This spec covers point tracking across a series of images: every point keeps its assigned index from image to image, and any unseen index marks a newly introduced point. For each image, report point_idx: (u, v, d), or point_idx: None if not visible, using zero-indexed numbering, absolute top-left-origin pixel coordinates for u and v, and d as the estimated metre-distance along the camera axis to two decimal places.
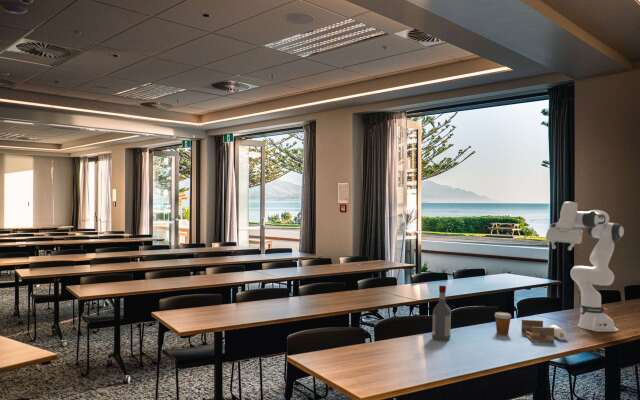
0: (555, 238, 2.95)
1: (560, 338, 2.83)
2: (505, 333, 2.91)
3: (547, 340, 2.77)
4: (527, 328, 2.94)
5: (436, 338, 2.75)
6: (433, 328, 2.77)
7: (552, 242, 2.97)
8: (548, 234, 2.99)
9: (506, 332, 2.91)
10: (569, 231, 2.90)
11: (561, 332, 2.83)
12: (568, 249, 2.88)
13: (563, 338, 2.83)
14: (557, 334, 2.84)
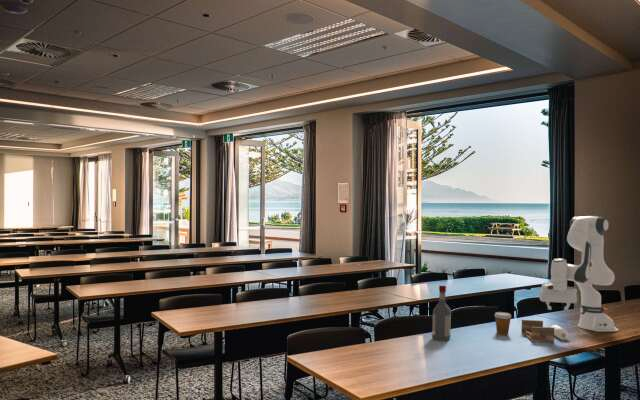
0: (552, 300, 2.88)
1: (561, 337, 2.83)
2: (505, 333, 2.91)
3: (547, 340, 2.77)
4: (527, 328, 2.94)
5: (436, 338, 2.75)
6: (433, 328, 2.77)
7: (548, 303, 2.89)
8: (544, 296, 2.88)
9: (506, 332, 2.91)
10: (566, 292, 2.87)
11: (564, 332, 2.83)
12: None
13: (563, 338, 2.83)
14: (559, 333, 2.84)
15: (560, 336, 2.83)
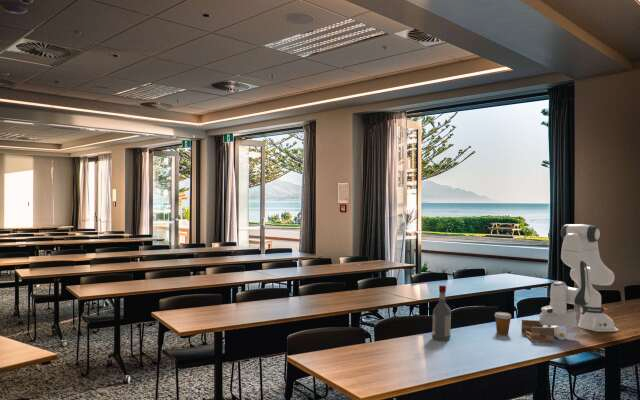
0: (552, 323, 2.88)
1: (559, 337, 2.83)
2: (505, 333, 2.91)
3: (547, 340, 2.77)
4: (527, 328, 2.94)
5: (436, 338, 2.75)
6: (433, 328, 2.77)
7: None
8: (544, 319, 2.88)
9: (506, 332, 2.91)
10: (565, 315, 2.87)
11: (561, 332, 2.83)
12: None
13: (562, 338, 2.83)
14: (557, 333, 2.84)
15: (558, 336, 2.83)
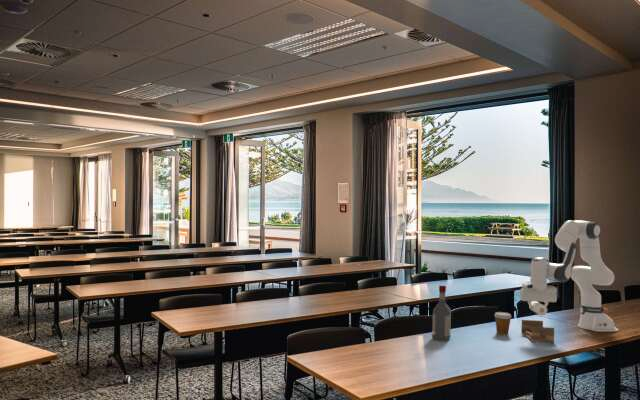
0: (532, 299, 2.85)
1: (539, 313, 2.80)
2: (505, 333, 2.91)
3: (547, 340, 2.77)
4: (527, 328, 2.94)
5: (436, 338, 2.75)
6: (433, 328, 2.77)
7: None
8: (524, 295, 2.85)
9: (506, 332, 2.91)
10: (545, 291, 2.84)
11: (541, 307, 2.80)
12: None
13: (542, 313, 2.80)
14: (537, 308, 2.81)
15: (538, 311, 2.80)
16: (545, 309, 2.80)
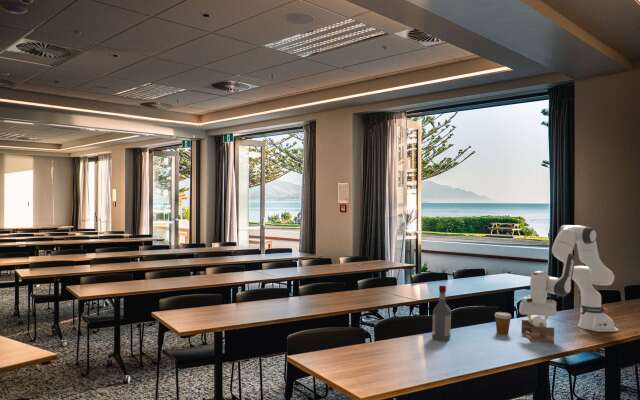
0: (532, 313, 2.85)
1: None
2: (505, 333, 2.91)
3: (547, 340, 2.77)
4: (527, 328, 2.94)
5: (436, 338, 2.75)
6: (433, 328, 2.77)
7: (529, 316, 2.86)
8: (523, 309, 2.85)
9: (506, 332, 2.91)
10: (545, 305, 2.84)
11: (541, 321, 2.80)
12: None
13: None
14: (537, 322, 2.80)
15: (538, 326, 2.80)
16: (545, 323, 2.80)
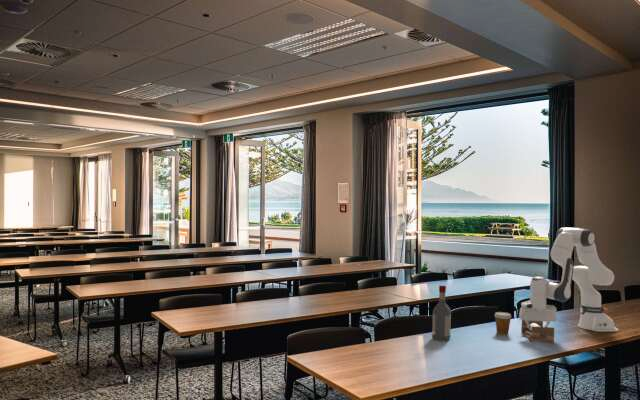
0: (531, 318, 2.85)
1: None
2: (505, 333, 2.91)
3: (547, 340, 2.77)
4: (527, 328, 2.94)
5: (436, 338, 2.75)
6: (433, 328, 2.77)
7: (527, 322, 2.86)
8: (523, 315, 2.85)
9: (506, 332, 2.91)
10: (545, 310, 2.84)
11: None
12: None
13: None
14: None
15: None
16: None
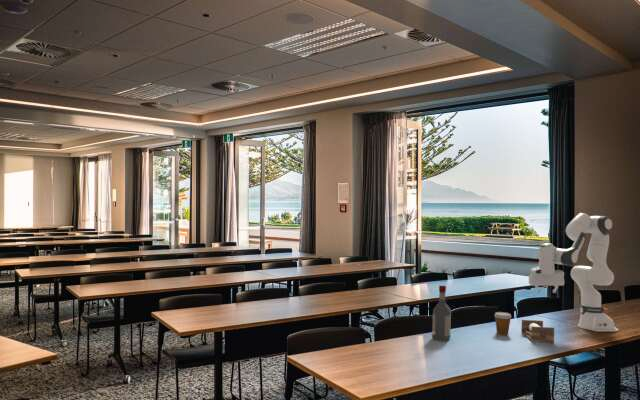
0: (541, 283, 2.98)
1: None
2: (505, 333, 2.91)
3: (547, 340, 2.77)
4: (527, 328, 2.94)
5: (436, 338, 2.75)
6: (433, 328, 2.77)
7: None
8: (533, 280, 2.98)
9: (506, 332, 2.91)
10: (553, 275, 2.98)
11: None
12: (554, 292, 2.99)
13: None
14: None
15: None
16: None
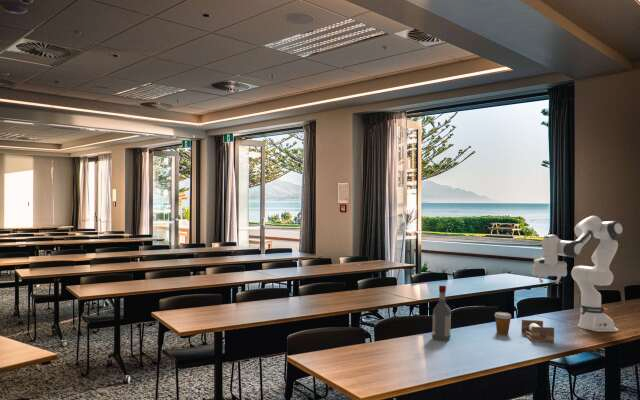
0: (544, 273, 3.05)
1: None
2: (505, 333, 2.91)
3: (547, 340, 2.77)
4: (527, 328, 2.94)
5: (436, 338, 2.75)
6: (433, 328, 2.77)
7: None
8: (536, 270, 3.05)
9: (506, 332, 2.91)
10: (556, 266, 3.04)
11: None
12: None
13: None
14: None
15: None
16: None
